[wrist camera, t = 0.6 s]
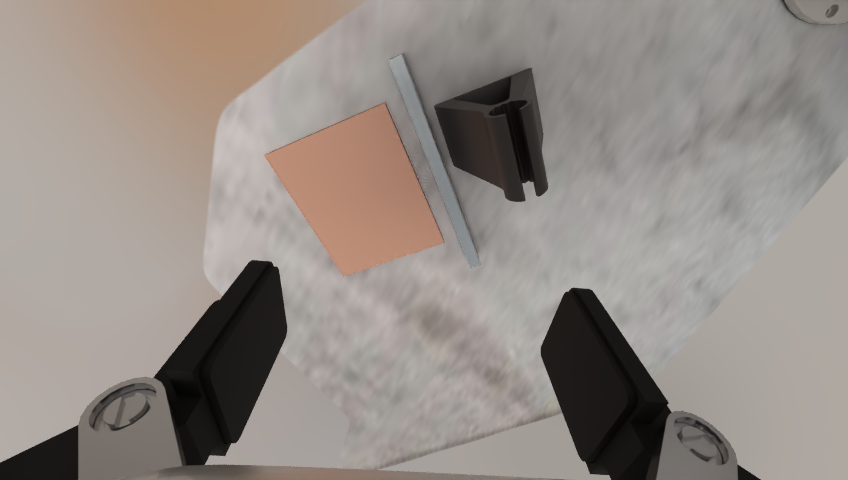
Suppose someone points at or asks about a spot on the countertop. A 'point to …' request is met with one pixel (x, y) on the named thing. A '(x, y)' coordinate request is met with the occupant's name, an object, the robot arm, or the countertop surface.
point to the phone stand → (498, 134)
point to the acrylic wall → (433, 155)
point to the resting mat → (358, 191)
